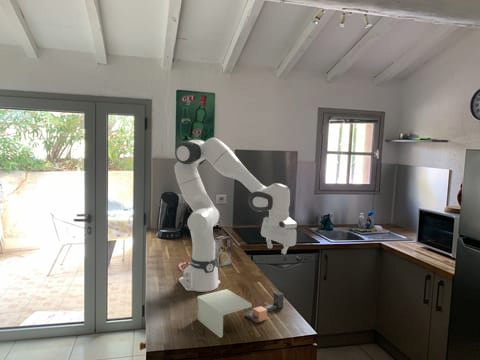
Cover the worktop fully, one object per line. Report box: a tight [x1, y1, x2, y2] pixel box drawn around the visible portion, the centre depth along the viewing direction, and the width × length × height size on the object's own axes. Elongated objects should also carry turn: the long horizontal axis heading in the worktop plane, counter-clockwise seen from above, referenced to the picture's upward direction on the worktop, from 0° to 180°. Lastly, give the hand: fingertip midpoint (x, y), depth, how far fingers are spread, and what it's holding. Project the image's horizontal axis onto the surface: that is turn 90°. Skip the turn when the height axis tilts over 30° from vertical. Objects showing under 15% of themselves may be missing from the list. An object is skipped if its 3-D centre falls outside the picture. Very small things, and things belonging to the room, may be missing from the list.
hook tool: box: [244, 291, 285, 324], centre depth 148 cm, size 8×18×6 cm, turn 125°
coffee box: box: [213, 235, 232, 268], centre depth 210 cm, size 9×6×16 cm
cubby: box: [196, 288, 253, 339], centre depth 139 cm, size 17×14×9 cm
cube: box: [252, 305, 268, 323], centre depth 143 cm, size 4×4×4 cm
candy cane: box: [177, 261, 191, 273], centre depth 203 cm, size 8×1×15 cm
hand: (276, 250), depth 160 cm, fingers open, 8 cm apart
